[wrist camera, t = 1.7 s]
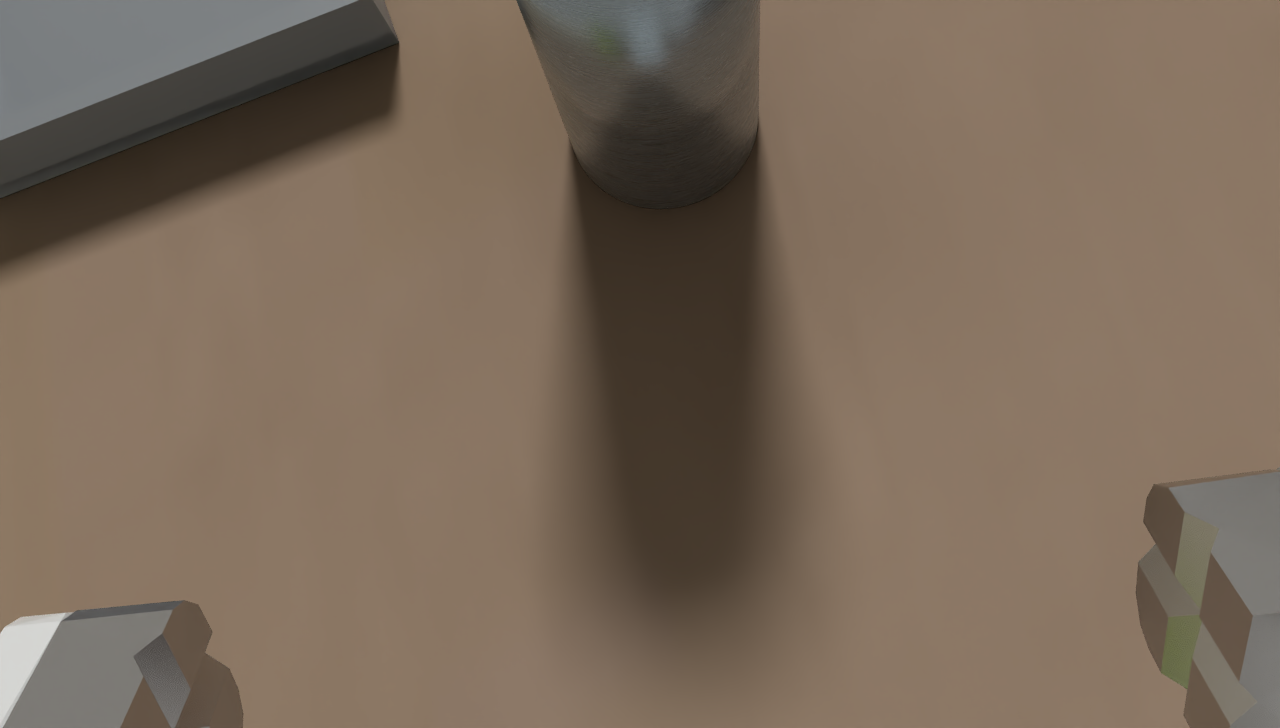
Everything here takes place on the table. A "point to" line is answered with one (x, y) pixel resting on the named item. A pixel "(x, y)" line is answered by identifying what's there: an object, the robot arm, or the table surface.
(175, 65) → the tray
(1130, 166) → the table surface
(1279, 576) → the robot arm
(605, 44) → the canister
